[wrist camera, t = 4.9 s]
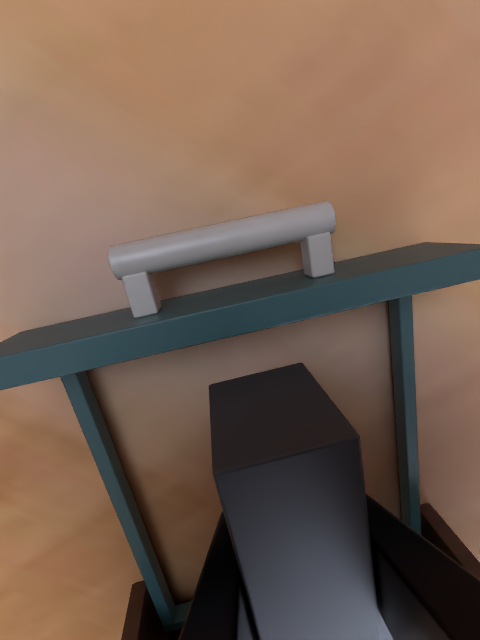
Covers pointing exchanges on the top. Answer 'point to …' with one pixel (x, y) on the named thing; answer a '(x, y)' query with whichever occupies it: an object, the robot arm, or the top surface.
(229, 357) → the top surface
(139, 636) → the drawer unit
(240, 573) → the robot arm
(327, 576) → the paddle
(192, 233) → the drawer
